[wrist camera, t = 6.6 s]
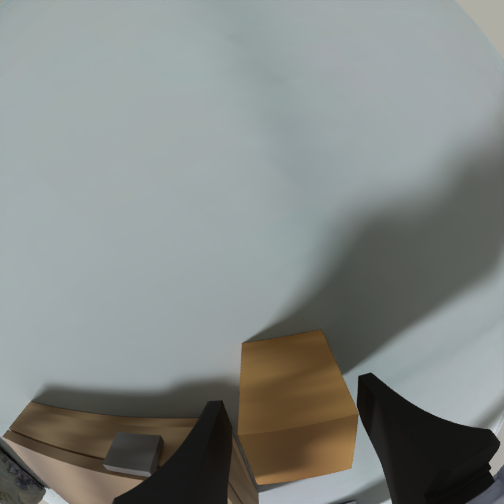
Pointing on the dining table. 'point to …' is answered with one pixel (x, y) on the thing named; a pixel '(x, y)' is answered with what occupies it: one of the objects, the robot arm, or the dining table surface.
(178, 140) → the dining table surface
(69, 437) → the brown wooden open box
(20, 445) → the lid
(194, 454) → the robot arm
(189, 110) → the dining table surface
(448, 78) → the dining table surface
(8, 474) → the mineral rock
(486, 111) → the dining table surface
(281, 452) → the brown block
